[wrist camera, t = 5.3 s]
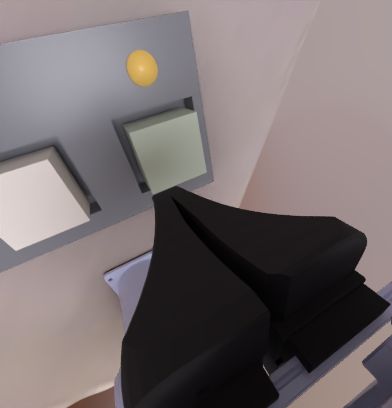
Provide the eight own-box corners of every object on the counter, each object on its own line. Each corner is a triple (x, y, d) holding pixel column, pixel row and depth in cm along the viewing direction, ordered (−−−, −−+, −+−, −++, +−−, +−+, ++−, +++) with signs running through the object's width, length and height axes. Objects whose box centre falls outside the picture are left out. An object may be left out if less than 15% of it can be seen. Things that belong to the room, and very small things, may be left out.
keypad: (203, 172, 22) (214, 181, 20) (-108, 299, 16) (-136, 332, 14) (174, 19, 15) (189, 9, 13) (-474, 138, 8) (-674, 160, 6)
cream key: (89, 201, 17) (90, 220, 15) (25, 225, 16) (15, 251, 14) (53, 145, 14) (47, 159, 12) (-29, 170, 13) (-54, 191, 10)
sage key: (192, 161, 19) (206, 172, 17) (144, 179, 18) (152, 194, 16) (180, 106, 16) (196, 111, 14) (122, 124, 15) (129, 133, 13)
